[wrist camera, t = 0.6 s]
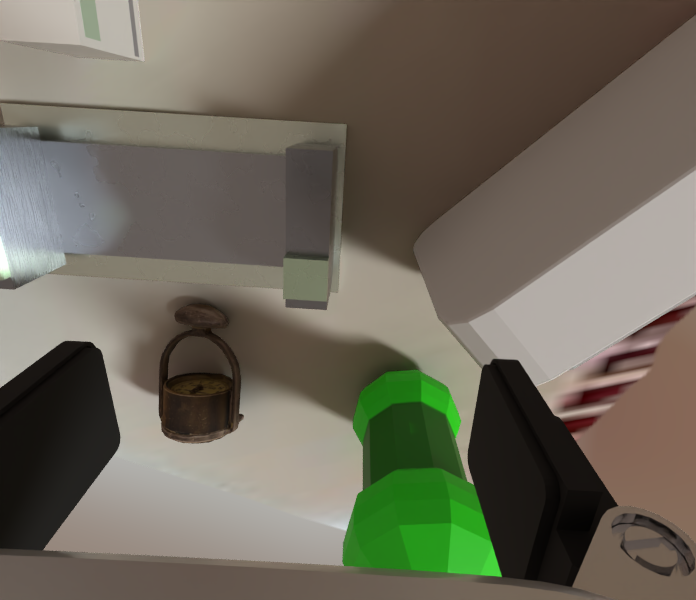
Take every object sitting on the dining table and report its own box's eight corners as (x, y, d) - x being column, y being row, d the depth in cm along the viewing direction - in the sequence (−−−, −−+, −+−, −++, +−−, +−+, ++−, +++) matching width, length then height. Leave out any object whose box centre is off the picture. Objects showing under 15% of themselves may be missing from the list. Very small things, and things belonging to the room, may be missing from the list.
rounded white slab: (460, 302, 39) (530, 437, 23) (408, 240, 37) (444, 339, 21) (785, 71, 31) (1255, 19, 15) (742, -25, 29) (1236, -209, 13)
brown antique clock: (112, 426, 40) (205, 482, 39) (137, 318, 34) (246, 381, 33) (163, 384, 46) (244, 430, 45) (191, 287, 40) (284, 338, 39)
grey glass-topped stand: (5, 103, 34) (-104, 98, 26) (346, 124, 34) (341, 126, 26) (44, 270, 39) (-36, 309, 32) (338, 290, 39) (331, 333, 31)
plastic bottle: (466, 361, 42) (594, 662, 19) (435, 445, 46) (507, 777, 23) (365, 340, 41) (367, 622, 18) (343, 427, 45) (320, 747, 22)
